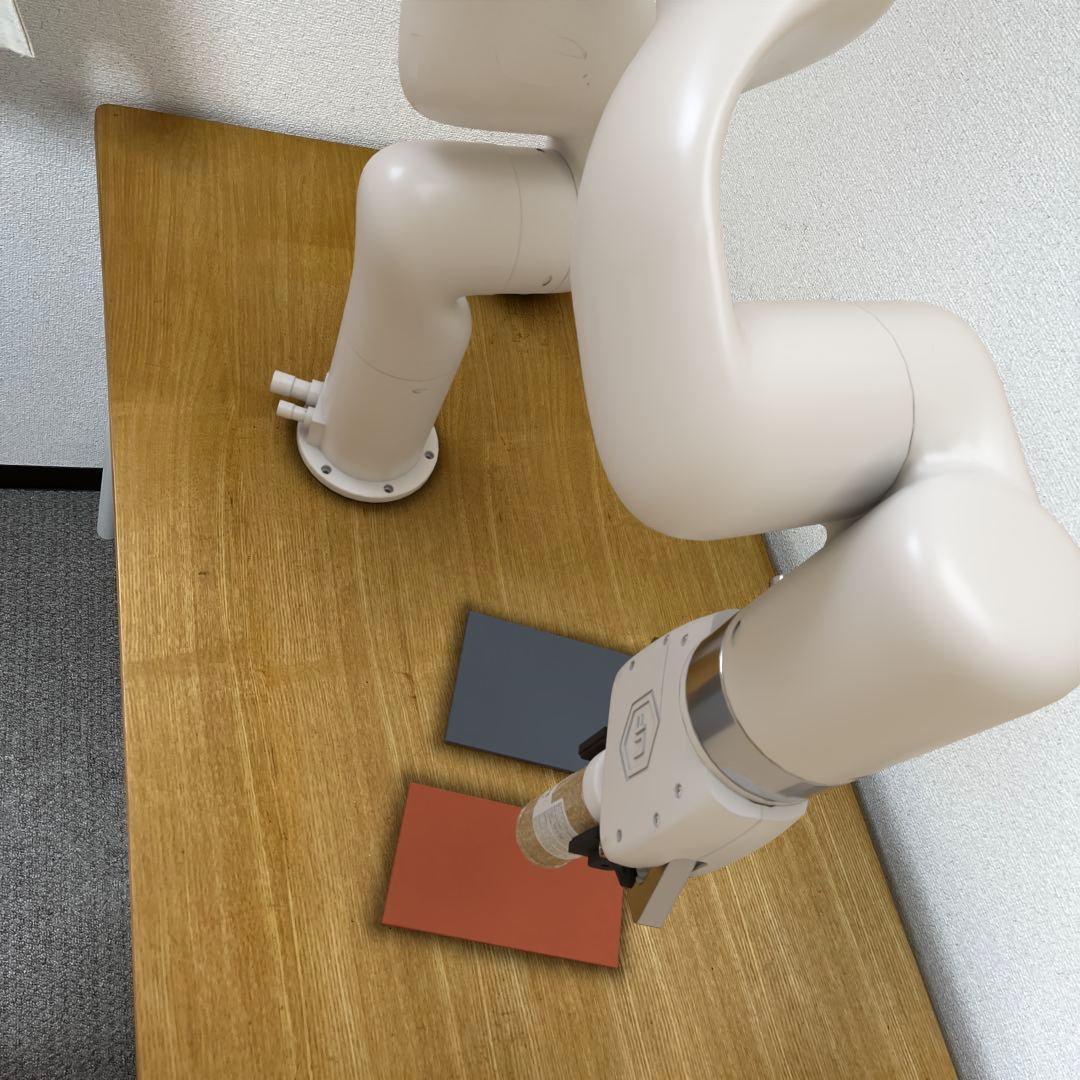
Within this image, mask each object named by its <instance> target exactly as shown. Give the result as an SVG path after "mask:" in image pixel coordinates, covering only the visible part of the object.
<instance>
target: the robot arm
mask: <svg viewBox="0 0 1080 1080" xmlns="http://www.w3.org/2000/svg"><path fill="white" fill-rule="evenodd" d="M895 2H896V0H655V1H654V0H401V3H400V13H399V27H398V41H397V42H398V43H397V45H398V47H397V69H398V76H399V77H398V79H399V82H400V86H401V89H402V91H403V92H402V93H403V95H404V97H405V99H406V100H407V102H408V103H409V104H410V106H411V107H412V108H413V109H414V110H415V111H416V112H417V113H419V114H420V115H422V116H423V117H424V118H426V119H428V120H430V121H434V122H436V123H437V124H438V123H439V124H442V125H446V126H450V127H457V128H463V129H471V130H478V131H486V132H495V133H496V132H498V133H508V134H522V135H523V134H524V135H535V136H543V137H544V136H545V137H546V142H545V145H544V148H543V147H531V146H530V147H529V146H519V145H518V146H516V145H505V144H504V145H502V144H498V143H494V142H493V143H491V142H481V141H480V142H478V141H465V140H464V141H463V140H453V139H451V140H450V139H415V140H413V139H412V140H406V141H405V140H404V141H400V142H396V143H392V144H391V145H387V146H386V147H382V148H381V149H380V150H378V151H377V152H376V153H375V154H373V155H372V156H371V157H370V158H369V160H368V161H367V162H366V164H365V165H364V167H363V169H362V172H361V174H360V176H359V182H358V186H357V191H356V199H355V200H356V202H355V236H354V238H355V239H354V257H353V266H352V273H351V278H350V283H349V287H348V288H349V289H348V292H347V297H346V301H345V305H344V309H343V314H342V318H341V323H340V327H339V331H338V335H337V340H336V343H335V347H334V353H333V355H332V359H331V364H330V367H329V371H328V372H327V373H326V376H325V379H324V380H323V381H320V380H317V379H315V378H312V381H307V380H304V379H301V378H298V377H297V376H295V375H292V374H290V373H286V372H283V371H280V370H277V369H276V370H275V371H274V373H273V374H272V378H271V382H270V384H269V392H271V393H274V394H277V395H280V396H282V397H286V398H288V399H290V398H292V399H295V400H299V401H302V402H305V403H304V406H303V407H302V406H300V405H296V404H295V403H292V402H290V401H287V400H283V399H280V400H279V403H278V405H277V409H276V413H275V416H277V417H281V418H284V419H287V420H293V421H297V426H296V445H297V449H298V452H299V454H300V457H301V459H302V462H303V463H304V465H305V466H306V468H307V469H308V470H309V472H310V474H311V475H313V476H314V478H315V479H317V480H318V481H319V482H320V483H321V484H322V485H324V486H325V487H326V488H328V489H329V490H331V491H333V492H335V493H336V494H338V495H341V496H343V497H345V498H348V499H352V500H354V501H359V502H366V503H372V504H373V503H388V502H393V501H398V500H401V499H403V498H406V497H409V496H410V495H412V494H413V493H415V492H416V491H418V490H419V489H421V487H423V486H424V484H425V483H426V482H427V481H428V480H429V479H430V476H431V475H432V473H433V471H434V469H435V466H436V464H437V461H438V457H439V450H440V449H439V439H438V434H437V430H436V428H435V426H434V425H435V423H436V421H437V418H438V416H439V413H440V411H441V409H442V407H443V405H444V402H445V400H446V397H447V395H448V392H450V391H449V390H450V389H451V386H452V383H454V382H453V381H454V379H455V377H456V375H457V372H458V370H459V368H460V365H461V363H462V360H463V358H464V356H465V354H466V351H467V349H468V348H469V347H468V346H469V344H470V340H471V336H472V331H473V330H472V329H473V321H472V320H473V319H472V312H471V307H470V305H469V302H468V300H467V298H466V297H470V296H495V295H503V294H505V295H506V294H507V295H508V294H509V295H510V294H511V295H513V294H519V295H529V294H528V293H531V294H562V293H569V292H571V298H572V299H571V300H572V308H573V316H574V322H575V323H574V324H575V331H576V338H577V345H578V354H579V360H580V361H579V362H580V368H581V376H582V383H583V389H584V394H585V401H586V407H587V412H588V415H589V421H590V424H591V428H592V435H593V440H594V445H595V447H596V451H597V454H598V457H599V460H600V463H601V466H602V468H603V471H604V473H605V477H606V478H607V481H608V483H609V484H610V486H611V488H612V489H613V491H614V493H615V494H616V496H617V498H618V499H619V500H620V502H621V504H622V505H623V507H625V509H626V510H627V511H628V512H629V513H630V514H631V515H632V516H633V517H634V518H635V519H636V520H638V521H639V522H640V523H641V524H642V525H644V526H646V527H647V528H649V529H651V530H653V531H656V532H658V533H660V534H662V535H663V536H665V537H666V536H667V537H670V538H674V539H678V540H687V541H689V540H690V541H698V542H707V541H722V540H728V539H735V538H741V537H749V536H754V535H761V534H767V533H773V532H780V531H786V530H792V529H798V528H803V527H804V528H805V527H810V526H816V525H817V526H818V525H821V526H823V527H824V529H825V532H826V539H825V542H824V544H823V547H821V548H820V549H819V550H817V551H816V552H815V553H813V554H812V555H811V556H809V557H808V558H806V559H805V560H804V561H803V562H801V563H800V564H799V565H797V566H796V567H795V568H794V569H791V571H790V572H788V573H787V574H779V575H775V576H773V577H771V578H770V579H769V580H768V588H767V589H766V590H764V592H762V593H761V594H760V595H758V596H757V597H755V598H754V599H753V600H752V601H751V602H749V603H747V605H745V606H744V607H742V608H741V609H737V608H729V609H725V610H720V611H717V612H714V613H711V614H708V615H704V616H701V617H698V618H696V619H693V620H690V621H688V622H686V623H684V624H682V625H679V626H678V627H675V628H674V629H672V630H670V631H668V632H667V633H665V634H664V635H661V636H660V637H659V636H654V637H653V638H652V639H651V641H650V644H648V645H647V646H645V647H644V648H642V650H640V651H639V652H637V653H636V654H634V655H632V656H633V657H632V658H631V659H630V660H629V661H628V662H626V663H625V664H624V666H623V667H622V668H621V669H620V670H619V671H618V673H617V675H616V678H615V681H614V684H613V688H612V694H611V701H610V710H609V719H608V726H607V727H606V726H605V727H603V728H602V729H600V730H599V731H598V732H596V733H595V734H594V735H592V736H591V737H590V738H588V739H587V740H585V741H584V742H583V743H581V744H580V745H579V752H578V755H580V758H581V759H583V760H587V761H591V760H592V759H593V758H594V757H595V756H596V755H598V754H599V753H600V752H602V751H603V750H605V749H606V751H605V762H604V774H603V787H602V799H601V814H600V826H594V827H592V828H591V829H589V830H587V831H585V832H583V833H581V834H579V835H577V836H575V837H573V838H572V840H571V841H569V847H568V852H569V853H572V854H577V855H581V856H586V857H588V864H587V865H588V866H589V867H592V868H596V869H600V870H607V871H614V870H615V873H616V876H617V878H618V881H619V884H620V885H621V886H622V887H623V888H626V890H627V893H626V895H625V896H626V899H627V904H628V907H629V912H630V915H631V919H632V922H633V923H634V924H635V925H641V926H645V927H650V928H655V929H661V928H663V925H664V924H665V922H666V921H667V919H668V917H669V915H670V913H671V911H672V909H673V907H674V906H675V904H676V902H677V900H678V899H679V896H680V894H681V892H682V891H683V889H684V887H685V885H686V884H687V882H688V880H689V879H693V878H698V877H702V876H705V875H707V874H710V873H712V872H715V871H718V870H720V869H723V868H726V867H728V866H730V865H732V864H734V863H736V862H738V861H740V860H742V859H744V858H745V857H747V856H750V855H751V854H753V853H755V852H756V851H758V850H760V849H761V848H762V847H764V846H766V845H767V844H769V843H771V842H772V841H773V840H774V839H776V838H778V837H779V836H780V835H782V834H783V833H784V832H786V831H787V830H788V829H790V827H792V825H794V824H795V823H797V821H799V820H800V819H801V818H802V817H803V816H804V815H805V814H806V812H807V810H808V806H809V801H810V799H813V798H815V797H817V796H820V795H823V794H825V793H827V792H830V791H833V790H835V789H838V788H841V787H843V786H846V785H848V784H851V783H853V782H856V781H858V780H861V779H864V778H867V777H869V776H871V775H874V774H877V773H880V772H882V771H884V770H887V769H889V768H892V767H895V766H897V765H900V764H903V763H905V762H907V761H910V760H913V759H916V758H918V757H921V756H923V755H926V754H928V753H932V752H933V751H937V750H939V749H942V748H944V747H947V746H949V745H951V744H954V743H957V742H960V741H963V740H965V739H967V738H970V737H972V736H975V735H977V734H980V733H983V732H985V731H988V730H990V729H993V728H995V727H999V726H1001V725H1004V724H1006V723H1009V722H1011V721H1013V720H1016V719H1020V718H1022V717H1025V716H1027V715H1030V714H1032V713H1035V712H1037V711H1039V710H1041V709H1043V708H1046V707H1047V706H1049V705H1052V704H1054V703H1056V702H1059V701H1060V700H1062V699H1063V698H1065V697H1067V695H1069V694H1071V693H1072V692H1073V691H1074V690H1075V689H1077V688H1078V687H1079V686H1080V547H1079V546H1078V544H1077V542H1076V541H1075V540H1074V538H1073V537H1072V536H1071V535H1070V534H1069V532H1068V531H1067V529H1066V528H1065V527H1064V526H1063V525H1062V524H1061V523H1060V522H1059V521H1058V520H1057V519H1056V517H1055V516H1054V515H1052V514H1051V513H1050V512H1049V511H1048V510H1047V509H1046V508H1045V507H1044V505H1042V503H1041V500H1040V497H1039V494H1038V492H1037V489H1036V487H1035V484H1034V481H1033V477H1032V475H1031V473H1030V470H1029V466H1028V462H1027V460H1026V457H1025V453H1024V451H1023V447H1022V444H1021V441H1020V438H1019V435H1018V431H1017V428H1016V424H1015V420H1014V417H1013V414H1012V410H1011V407H1010V404H1009V401H1008V398H1007V394H1006V391H1005V388H1004V385H1003V382H1002V379H1001V377H1000V374H999V371H998V369H997V366H996V364H995V362H994V360H993V358H992V356H991V353H990V351H989V350H988V348H987V346H986V345H985V343H984V342H983V340H982V339H981V337H980V336H979V334H978V333H977V332H976V330H975V329H973V328H972V327H971V325H970V324H968V323H967V322H966V321H965V320H964V319H963V318H962V317H961V316H959V315H957V314H956V313H954V312H953V311H951V310H949V309H946V308H945V307H943V306H940V305H936V304H933V303H929V302H924V301H917V300H915V301H914V300H903V299H893V300H891V299H889V300H885V299H884V300H847V301H846V300H837V299H789V300H788V299H785V300H783V299H781V300H778V299H777V300H775V299H773V300H733V298H732V291H731V285H730V276H729V272H728V271H729V270H728V266H727V259H726V258H727V257H726V250H725V243H724V234H723V224H722V215H721V183H720V182H721V173H722V172H721V171H722V163H723V151H724V144H725V141H726V137H727V133H728V129H729V126H730V123H731V119H732V114H733V112H734V110H735V108H736V106H737V103H738V101H739V100H740V96H741V95H743V94H745V93H747V92H750V91H753V90H755V89H757V88H760V87H762V86H765V85H767V84H770V83H773V82H775V81H778V80H781V79H783V78H786V77H788V76H791V75H792V74H796V73H798V72H799V71H802V70H803V69H806V68H808V67H810V66H812V65H814V64H816V63H819V62H820V61H822V60H824V59H826V58H828V57H830V56H832V55H833V54H835V53H837V52H839V51H840V50H842V49H844V48H845V47H846V46H848V45H850V44H851V43H852V42H854V41H856V40H857V39H859V37H861V36H862V35H863V34H864V33H866V32H867V31H868V30H869V29H870V28H871V27H873V26H874V25H875V24H876V23H877V22H878V21H879V20H881V18H882V17H883V16H885V15H886V13H887V12H888V11H889V10H890V8H891V7H892V6H893V5H894V3H895Z"/></svg>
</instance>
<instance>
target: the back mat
mask: <svg viewBox="0 0 1080 1080" xmlns="http://www.w3.org/2000/svg"><path fill="white" fill-rule="evenodd" d="M633 656H634V655H630V654H628V653H627V654H626V653H623V652H619V651H615V650H612V649H609V648H604V647H601V646H598V645H595V644H591V643H587V642H583V641H579V640H576V639H573V638H569V637H566V636H562V635H558V634H555V633H551V632H547V631H545V630H540V629H537V628H534V627H530V626H526V625H523V624H519V623H516V622H512V621H509V620H506V619H505V620H504V619H501V618H498V617H494V616H491V615H487V614H483V613H479V612H477V611H473V610H469V612H468V613H467V617H466V623H465V630H464V634H463V639H462V645H461V650H460V654H459V660H458V664H457V670H456V676H455V681H454V686H453V691H452V695H451V696H452V697H451V701H450V707H449V713H448V717H447V723H446V729H445V733H444V738H443V742H444V743H445V744H450V745H454V746H457V747H462V748H465V749H470V750H474V751H478V752H483V753H486V754H490V755H494V756H498V757H503V758H507V759H510V760H515V761H520V762H524V763H528V764H531V765H535V766H541V767H544V768H549V769H552V770H557V771H560V772H565V773H569V774H574V773H576V772H578V771H580V770H581V769H583V768H584V767H586V766H587V765H588V764H589V763H590V761H587V760H583V759H581V758H580V755H578V752H579V745H580V744H581V743H583V742H584V741H585V740H587V739H588V738H590V737H591V736H592V735H594V734H595V733H596V732H598V731H599V730H600V729H602V728H603V727H605V726H606V727H607V726H608V719H609V710H610V701H611V694H612V688H613V684H614V681H615V678H616V675H617V673H618V671H619V670H620V669H621V668H622V667H623V666H624V664H625V663H626V662H628V661H629V660H630V659H631V658H632V657H633Z"/></svg>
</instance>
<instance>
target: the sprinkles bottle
mask: <svg viewBox="0 0 1080 1080" xmlns="http://www.w3.org/2000/svg"><path fill="white" fill-rule="evenodd" d="M605 751H606V749H605V750H603V751H602V752H600V753H599V754H598V755H596V756H595V757H594V758H593V759H592V760H591V761H590V763H589V764H588V765H587V766H586V767H584V768H583V769H581V770H580V771H578V772H576V773H574V774H573V773H571V774H570V775H568V776H566V777H565V778H564V779H563V780H561V781H559V782H558V783H557V784H554V785H553V786H552V787H551V788H549V789H547V790H546V791H545V792H543V793H542V794H541V795H540V796H538V797H535V798H533V799H531V800H530V801H528V802H527V803H526V804H525V805H524V806H523V807H522V808H523V809H522V810H521V811H520V813H519V816H518V818H517V822H516V840H517V844H518V846H519V847H520V850H521V852H522V853H523V855H524V856H525V857H526V858H527V859H528V860H529V861H530V862H531V863H532V864H534V865H536V866H539V867H541V868H546V869H555V868H560V867H562V866H564V865H566V864H567V863H569V862H570V861H571V860H572V859H576V858H579V857H582V856H581V855H577V854H572V853H569V852H568V847H569V841H571V840H572V838H573V837H575V836H577V835H579V834H581V833H583V832H585V831H587V830H589V829H591V828H592V827H594V826H600V814H601V799H602V787H603V774H604V762H605Z"/></svg>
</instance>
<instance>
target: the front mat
mask: <svg viewBox="0 0 1080 1080" xmlns="http://www.w3.org/2000/svg"><path fill="white" fill-rule="evenodd" d="M522 809H523V807H522V806H517V805H513V804H509V803H504V802H499V801H495V800H492V799H487V798H482V797H478V796H473V795H469V794H465V793H460V792H456V791H453V790H452V791H451V790H447V789H442V788H438V787H434V786H430V785H426V784H422V783H417V782H410V783H409V784H408V789H407V795H406V798H405V803H404V809H403V812H402V813H403V814H402V819H401V822H400V829H399V834H398V838H397V843H396V848H395V852H394V856H393V863H392V866H391V871H390V877H389V882H388V887H387V891H386V896H385V901H384V906H383V911H382V916H381V920H380V924H381V925H385V926H390V927H394V928H400V929H406V930H410V931H416V932H422V933H426V934H431V935H437V936H443V937H447V938H453V939H458V940H463V941H468V942H473V943H478V944H484V945H488V946H489V945H490V946H495V947H500V948H504V949H505V948H506V949H510V950H516V951H521V952H526V953H532V954H536V955H542V956H546V957H553V958H557V959H563V960H567V961H568V960H569V961H573V962H577V963H578V962H579V963H583V964H584V963H585V964H590V965H594V966H600V967H604V968H611V969H617V968H618V966H619V955H620V954H619V953H620V952H619V951H620V941H621V940H620V939H621V927H622V926H621V925H622V913H623V912H622V911H623V898H624V887H622V886H621V885H620V884H619V881H618V878H617V876H616V873H615V870H614V871H607V870H600V869H596V868H592V867H589V866H588V865H587V864H588V857H586V856H582V857H579V858H576V859H572V860H571V861H570V862H569V863H567V864H566V865H564V866H562V867H560V868H555V869H546V868H541V867H539V866H536V865H534V864H532V863H531V862H530V861H529V860H528V859H527V858H526V857H525V856H524V855H523V853H522V852H521V850H520V847H519V846H518V844H517V840H516V822H517V818H518V816H519V813H520V811H521V810H522Z"/></svg>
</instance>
